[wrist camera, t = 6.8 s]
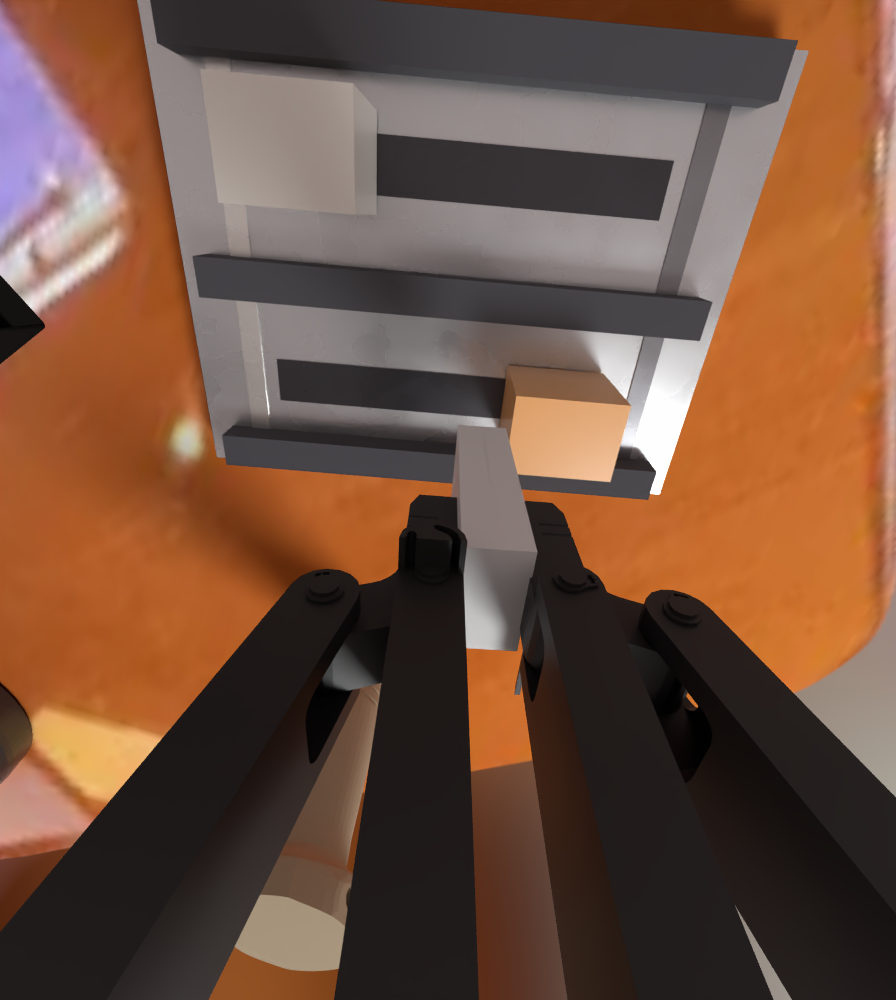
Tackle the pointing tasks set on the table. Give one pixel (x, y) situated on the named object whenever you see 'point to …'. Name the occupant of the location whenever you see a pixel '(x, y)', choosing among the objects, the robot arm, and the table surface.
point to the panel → (471, 248)
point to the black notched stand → (15, 321)
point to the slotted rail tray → (476, 58)
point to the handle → (316, 859)
